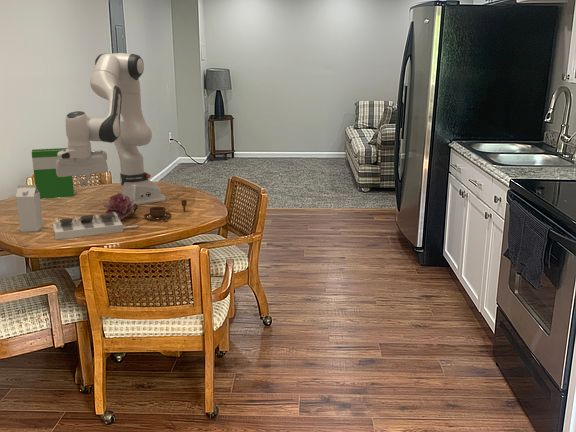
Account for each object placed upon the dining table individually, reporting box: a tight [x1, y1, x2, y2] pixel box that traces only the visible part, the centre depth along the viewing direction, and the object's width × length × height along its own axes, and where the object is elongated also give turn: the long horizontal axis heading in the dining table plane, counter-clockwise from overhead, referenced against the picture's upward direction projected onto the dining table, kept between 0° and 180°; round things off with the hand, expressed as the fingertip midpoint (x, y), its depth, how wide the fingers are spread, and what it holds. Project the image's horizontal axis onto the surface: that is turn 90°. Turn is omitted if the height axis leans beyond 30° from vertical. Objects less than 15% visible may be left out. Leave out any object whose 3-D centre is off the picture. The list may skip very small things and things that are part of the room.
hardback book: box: [31, 147, 75, 200], centre depth 288 cm, size 18×7×24 cm, turn 111°
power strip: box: [52, 212, 139, 240], centre depth 235 cm, size 32×13×6 cm, turn 115°
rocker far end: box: [59, 217, 74, 224], centre depth 231 cm, size 4×7×2 cm, turn 25°
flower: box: [103, 193, 139, 221], centre depth 253 cm, size 15×15×10 cm
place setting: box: [143, 199, 188, 223], centre depth 255 cm, size 18×20×6 cm
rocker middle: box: [80, 214, 94, 222], centre depth 234 cm, size 4×7×2 cm, turn 25°
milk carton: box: [15, 184, 44, 233], centre depth 233 cm, size 7×7×19 cm
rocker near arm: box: [99, 213, 113, 219], centre depth 238 cm, size 4×7×2 cm, turn 25°
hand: (84, 185), depth 236 cm, fingers closed
